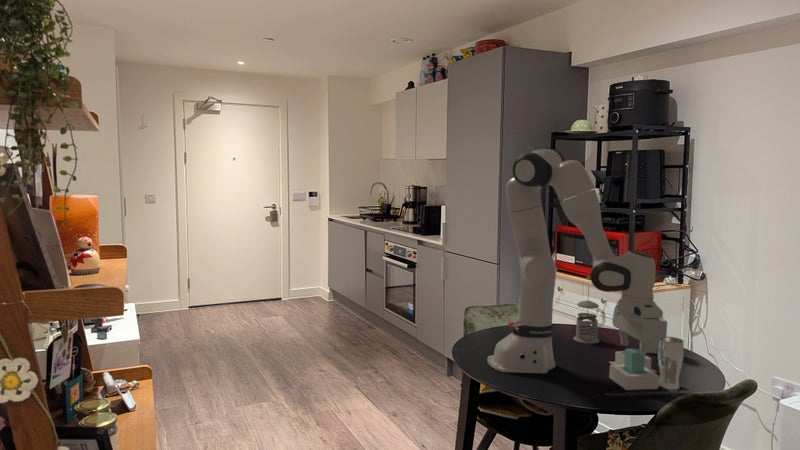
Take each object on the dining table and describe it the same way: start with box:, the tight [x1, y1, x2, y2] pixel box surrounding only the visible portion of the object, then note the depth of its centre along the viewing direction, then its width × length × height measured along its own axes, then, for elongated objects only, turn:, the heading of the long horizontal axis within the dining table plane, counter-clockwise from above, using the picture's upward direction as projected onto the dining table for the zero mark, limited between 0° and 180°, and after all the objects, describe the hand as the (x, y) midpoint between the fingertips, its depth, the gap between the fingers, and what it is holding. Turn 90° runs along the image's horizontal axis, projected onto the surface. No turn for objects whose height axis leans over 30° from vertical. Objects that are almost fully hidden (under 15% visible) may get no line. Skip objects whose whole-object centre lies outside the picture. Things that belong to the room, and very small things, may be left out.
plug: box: [624, 348, 645, 374], centre depth 168 cm, size 4×4×10 cm
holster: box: [608, 350, 658, 373], centre depth 184 cm, size 11×11×5 cm
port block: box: [608, 364, 660, 394], centre depth 169 cm, size 10×10×5 cm
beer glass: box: [657, 336, 685, 393], centre depth 167 cm, size 7×7×15 cm
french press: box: [573, 276, 606, 344], centre depth 215 cm, size 10×12×25 cm
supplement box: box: [639, 316, 668, 355], centre depth 201 cm, size 7×7×13 cm
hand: (632, 349), depth 168 cm, fingers open, 8 cm apart
